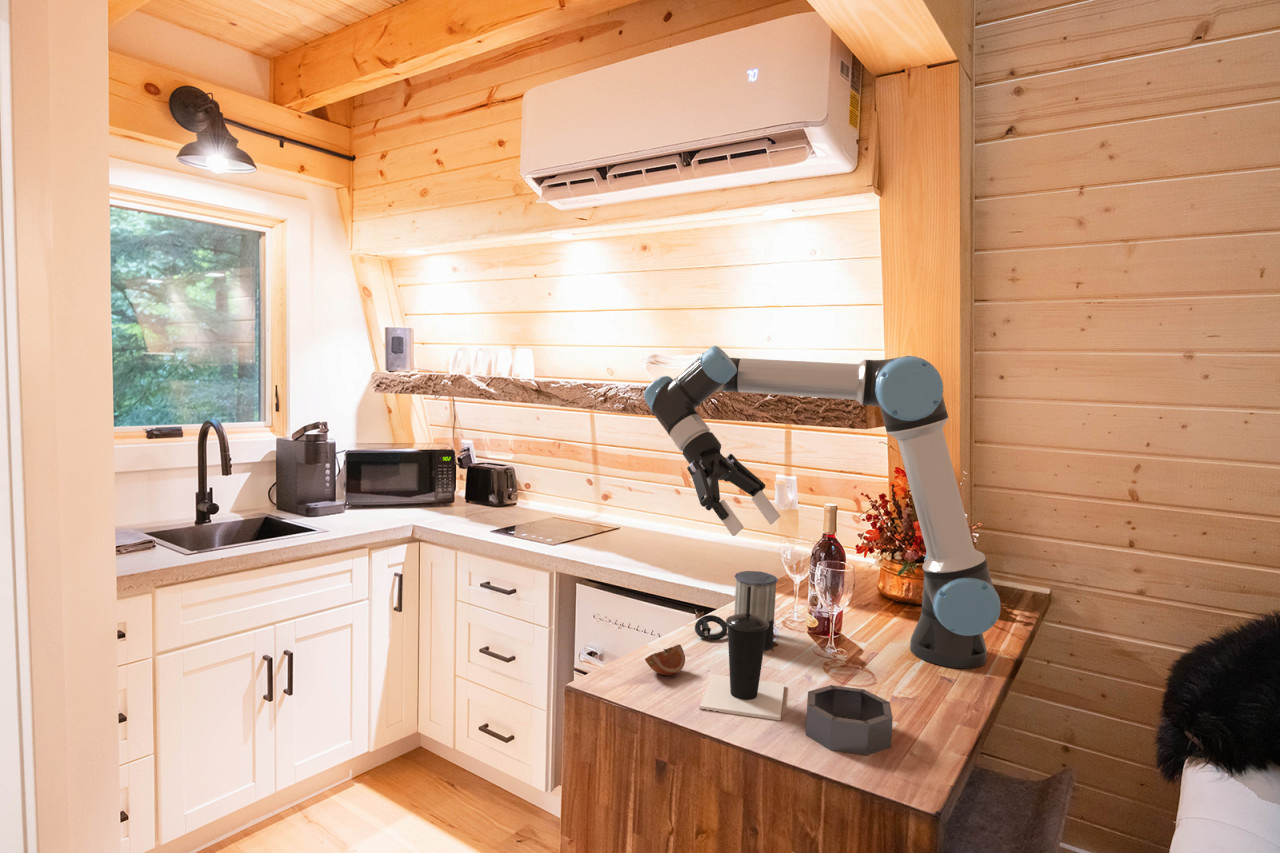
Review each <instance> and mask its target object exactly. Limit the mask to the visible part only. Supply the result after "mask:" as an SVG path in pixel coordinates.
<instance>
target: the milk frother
mask: <svg viewBox="0 0 1280 853" xmlns="http://www.w3.org/2000/svg"><path fill="white" fill-rule="evenodd" d="M734 578H735V591H734V592H735V594H734V613H733V615H736V614H740V613H746V604H747V587H751V601H750V613H751V614H755V615H757V616H760V617H762V618H764V619H766V620H767V621H768V622H769V627H768V628H767V632H766V639H765V646H764V651H767V650H770V649H772V648H774V646H775V641H774V638H775V635H774V633H775V632H774V628H775V627H774V624H775V613H776V612H775V611H776V610H775V609H776V595H777V583H778V580H779V579H778V577H777V576H775V575H773V574H771V573H768V572H764V571H759V570H757V571H756V570H746V571H739V572H737V573H735V574H734ZM710 622H711V623H716V624H718V625H719V626H720V627H721V631H720V632H717V633H715V634H711V631H712V628H711V627H710V626H709V623H710ZM694 631H695V633H696V634H697V636H699V637H700V638H702V639H705V640H709V641H718V640H721V639H723V638H724V637H725V636H726V635H727V634H728V625H727V624H726V620H724V619H722V618H721V617H720V616H717V615H712V614H708V615H707V614H706V615H704V616H702V617H700V618H699V619H698V620H697V621H696V622H695V625H694ZM773 641H774V642H773Z"/></svg>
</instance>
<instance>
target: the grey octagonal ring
mask: <svg viewBox="0 0 1280 853" xmlns="http://www.w3.org/2000/svg"><path fill="white" fill-rule="evenodd" d="M805 717H806V718H805V736H807V737H809V738H810V739H811V740H813V741H815V742H817V743H818V744H820V745H821V746H823V747H824V748H826V749H828V750H830V751H833V752H839V753H847V754H848V753H849V754H855V755H860V756H869V755H872V754H875V753H878V752H881V751H883V750H886V749H889V748H891V747H892V746H891V745H892V733H893V721H894V720H893V719H894V717H893V713H892V707H891V703H890V701H888V700H886V699H884V698H882V697H881V696H878V695H877V694H874V693H872V692H870V691H868V690H866V689H865V688H855V687H849V686H841V685H840V686H839V685H832V684H830V685H827V686H823V687H819V688H815V689H813V690H809V691H807V700H806V716H805Z"/></svg>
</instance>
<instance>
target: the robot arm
mask: <svg viewBox="0 0 1280 853" xmlns="http://www.w3.org/2000/svg"><path fill="white" fill-rule="evenodd" d="M716 392H725V393H726V392H729V393H745V394H747V393H749V394H760V395H761V394H762V395H778V396H792V397H805V398H807V397H808V398H821V399H824V398H825V399H836V400H837V399H839V400H850V401H851V400H853V401H856V402H857V403H859V404H860V405H861V406H870V407H876V408H877V407H878V408H879V409H880V412H881V416H882V420H883V424H884V427H885V431H886V434H888V435H890V436H891V437H893V438H894V439H895V440H897V441H896V442H897V445H898V448H899V453H900V457H901V460H902V463H903V468H904V471H905V475H906V479H907V482H908V487H909V491H910V494H911V498H912V501H913V505H914V508H915V513H916V516H917V520H918V524H919V527H920V532H921V535H922V539H923V544H924V547H925V551H926V552H925V557H924V562H923V564H922V570H923V574H924V575H923V588H922V602H921V613H920V617H919V619H918V621H917V623H916V626H915V627H914V630H913V633H912V634H911V636H910V637H911V638H910V641H909V642H910V643H909V644H910V646H909V650H910V651H911V653H912V654H913V655H914V656H915V657H917V658H919V659H921V660H923V661H926V662H929V663H930V664H934V665H939V666H941V667H947V668H952V669H953V668H954V669H955V668H956V669H973V668H980V667H982V666H984V665H985V664H986V663H987V655H988V650H987V646H986V642H985V641H986V640H985V637H984V634H983V633H985V632H987V631H989V630H990V629H991V628H992V627H994V625H995V624H996V623H997V621H998V620H999V617H1000V614H1001V609H1002V608H1001V598H1000V595H999V594H998V592H997V590H996V588H994V585H993V584H994V583H993V581H992V577H991V574H990V570H989V566H988V562H987V558H986V556H985V554H984V552H981V550H980V551H979V550H977V549H975V546H974V543H973V539H972V535H971V531H970V527H969V522H968V520H967V514H966V513H965V508H964V505H963V501H962V497H961V493H960V489H959V485H958V481H957V479H956V475H955V471H954V466H953V462H952V458H951V455H950V451H949V448H948V444H947V440H946V436H945V432H944V427H945V425H946V424H947V422H948V420H949V414H948V410H947V406H946V403H945V398H944V382H943V378H942V377H941V374H940V372H939V371H938V369H937V368H935V366H934V365H933V364H932V363H931V362H929V361H928V360H927V359H924V358H921V357H919V356H915V355H914V356H913V355H907V356H900V357H899V356H898V357H895V358H894V357H893V358H889V359H863V360H862V361H861V362H860V363H840V362H824V361H823V362H821V361H820V362H819V361H805V360H804V361H802V360H783V359H764V358H747V357H746V358H744V357H743V358H742V357H741V358H740V357H739V358H738V357H730V356H729V355H728V354H727V353H726V352H725V351H724V350H723V349H722V348H721V347H720V346H717V345H713V346H711V347H710V348H709V349H707V350H706V351H705V352H703V353H701V354H700V355H699V357H697V359H696V360H695V361H694V362H692V363H691V364H690V365H689V366H688V367H687V368H685V370H684V371H682V372H681V373H680V374H679V375H678V376H676V378H672V377H671V376H668V375H665V376H660V377H659V378H657V379H655V380H653V381H652V382H651V383H650V384H648V386H646V388H645V390H644V392H643V398H644V401H645V403H646V405H647V406H648V407H649V410H650V412H651V414H653V416H654V417H655V418H656V419H657V421H658V422H659V423H660V425H661V426H662V428H664V430H665V431H666V432H667V434H668V436H669V437H670V438H671V440H672V441H673V443H674V444H675V446H676V447H677V448H678V450H679V451H680V452H682V457H684V458H685V460H686V461H687V463H688V464H689V465H688V466H687V467H686V469H687V471H688V473H689V475H690V476H691V478H692V481H693V484H694V489H695V490H696V494H697V498H698V500H699V504H700V505H701V507H705V509H706V511H711V510H713V511H714V512H715V514H716V516H718V518H719V519H720V520H721V523H723V524H724V526H725V528H726V529H727V530H728V531H729V533H730V534H731V536H732V537H735V536H736V535H738V534H739V533H740V532H741V531H742V530H743V529H744V527H745V526H744V525H743V524H742V522H741V521H740V519H739V518H738V517H737V516H736V514H735V513H734V511H733V510H732V508H731V507H730V505H728V503H727V501H726V499H721V495H720V485H719V481H724V482H730V483H731V484H733V485H734V486H736V487H737V488H739V489H740V490H742V491H743V492H745V493H746V494H748V495H749V496H751V501H752V502H753V503H754V505H755V506H756V507H757V509H758V510H759V512H760V513H761V514H762V515H763V518H764V519H766V521H767V522H768V524H769V525H772V524H774V523H775V522H777V521H778V519H780V518H781V514H780V513H779V511H778V510H777V509H776V508H775V506H774V505H773V503H772V502H771V501H770V499H769V498H768V497H767V496H766V494H765V493H764V492H763V490H764V489H765V488H766V484H765V483H764V482H763V481H762V480H761V479H760V478H759V477H758V476H756V475H755V474H754V473H752V471H750V470H749V469H748V468H747V467H745V465H743V464H742V463H741V462H740V461H739V460H738V459H737V458H736V457H735V455H734V454H732V453H729V454H728V455H727V456H726V457H725V456H724V455H723V454H721V449H722V444H721V442H720V441H719V439H718V438H717V437H716V435H715V434H714V433H713V432H711V428H710V427H709V425H707V424H706V422H705V421H704V420H703V418H702V417H701V415H700V414H699V412H697V410H696V408H698V407H699V406H701V405H702V403H704V402H705V401H706V400H707V399H709V398H710V397H711V396H712V395H713V394H714V393H716Z"/></svg>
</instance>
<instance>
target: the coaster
mask: <svg viewBox="0 0 1280 853" xmlns="http://www.w3.org/2000/svg"><path fill="white" fill-rule="evenodd" d="M784 692H785V683H783V682H776V681H770V680H769V681H767V680H760V679H759V686H758V693H757V697H756V698H754V699H751V700H742V699H738V698H735V697H733V696H732V695H731V692H730V675H721V674H715V673H714V674H713V673H710V674H709V678H708V681H707V684H706V687H705V689H704V691H703V694H702V698H701V700H700V704H699V710H702V709H706V710H705V711H709V710H713V711H712V712H716V711H719V712H718V713H725V714H733V715H736V716H737V715H738V716H746V717H752V718H761V719H766V720H774V721H781V719H782V710H783V701H784Z"/></svg>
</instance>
